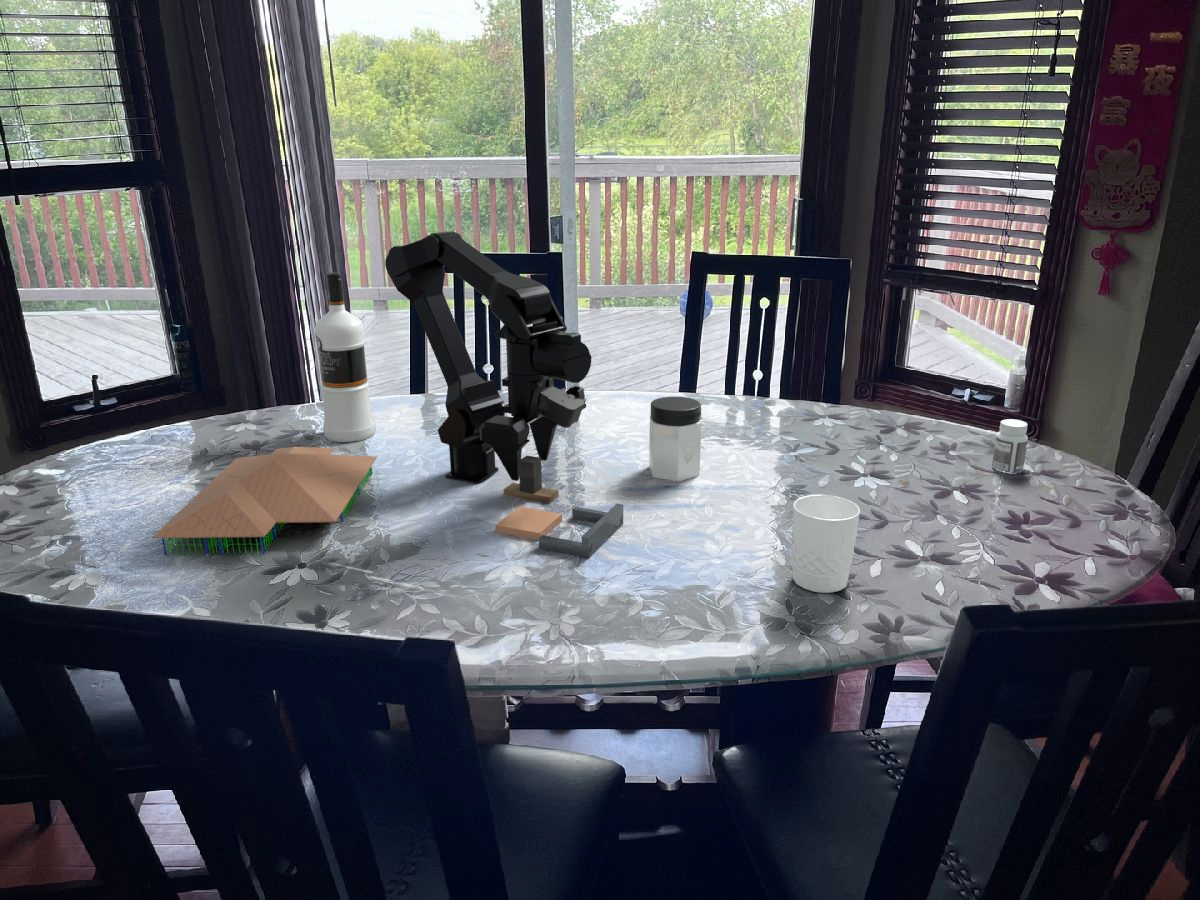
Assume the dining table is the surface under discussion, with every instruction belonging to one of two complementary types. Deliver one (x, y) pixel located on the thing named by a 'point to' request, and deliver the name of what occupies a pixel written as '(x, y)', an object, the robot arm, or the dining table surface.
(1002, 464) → the pill bottle
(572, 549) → the grey u-shaped frame
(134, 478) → the dining table surface
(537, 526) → the tile
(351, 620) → the dining table surface
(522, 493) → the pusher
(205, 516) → the house
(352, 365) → the vodka
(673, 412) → the jar
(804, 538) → the white cup
